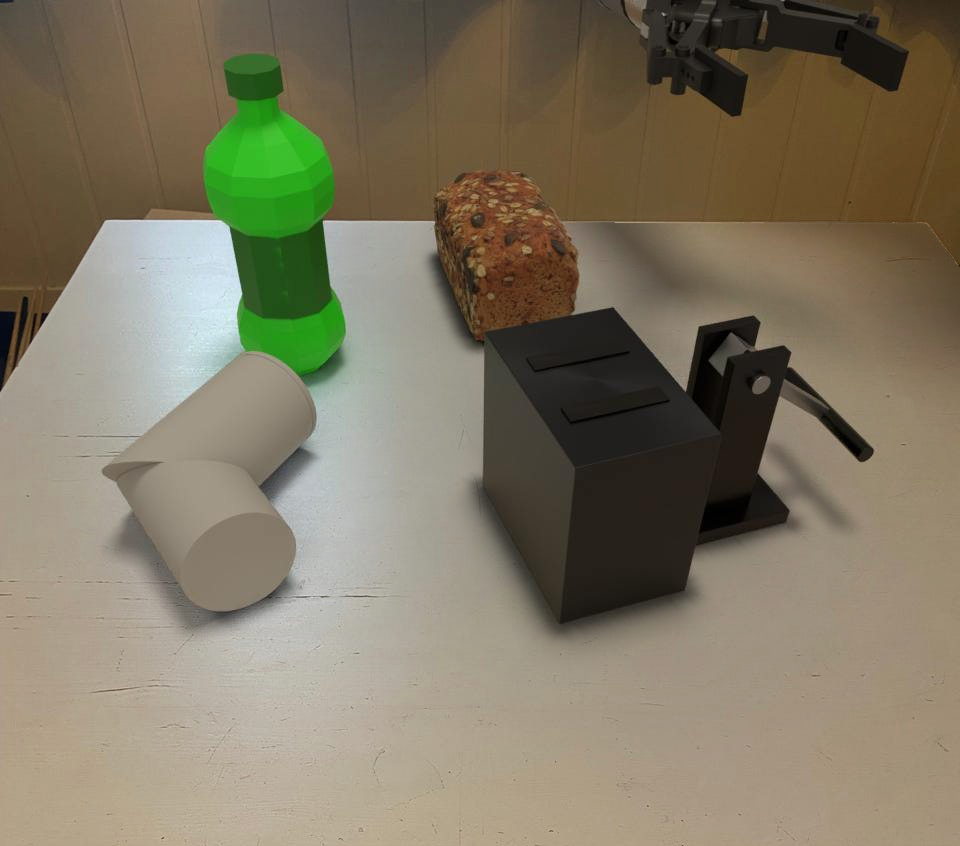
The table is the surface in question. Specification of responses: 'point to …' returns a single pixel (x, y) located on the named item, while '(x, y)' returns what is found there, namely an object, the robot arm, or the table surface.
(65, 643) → the table surface
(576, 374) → the toaster
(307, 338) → the plastic bottle
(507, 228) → the bread
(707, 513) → the lever bracket
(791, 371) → the lever
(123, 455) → the elbow connector
